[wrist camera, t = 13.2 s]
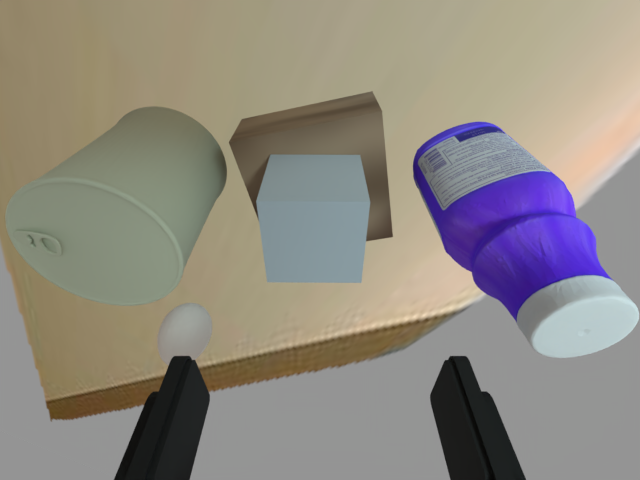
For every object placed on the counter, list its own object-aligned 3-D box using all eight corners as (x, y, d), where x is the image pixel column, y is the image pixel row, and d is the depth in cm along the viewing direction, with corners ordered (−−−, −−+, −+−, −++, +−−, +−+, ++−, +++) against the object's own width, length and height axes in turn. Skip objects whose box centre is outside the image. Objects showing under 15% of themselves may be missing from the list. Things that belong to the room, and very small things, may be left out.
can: (105, 90, 24) (-34, 160, 15) (232, 123, 26) (182, 206, 16) (117, 197, 30) (22, 298, 20) (222, 219, 31) (180, 323, 22)
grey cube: (270, 154, 22) (256, 201, 18) (360, 154, 22) (370, 201, 18) (277, 227, 26) (267, 282, 21) (354, 227, 26) (361, 282, 21)
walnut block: (242, 117, 26) (228, 142, 22) (371, 90, 24) (382, 110, 21) (278, 222, 32) (272, 256, 28) (383, 204, 31) (392, 237, 27)
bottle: (418, 199, 30) (504, 385, 16) (398, 144, 27) (484, 317, 13) (503, 166, 28) (682, 346, 14) (492, 103, 25) (710, 254, 11)
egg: (227, 309, 39) (212, 367, 33) (198, 327, 41) (179, 384, 35) (191, 284, 36) (166, 342, 30) (162, 305, 38) (134, 362, 32)
